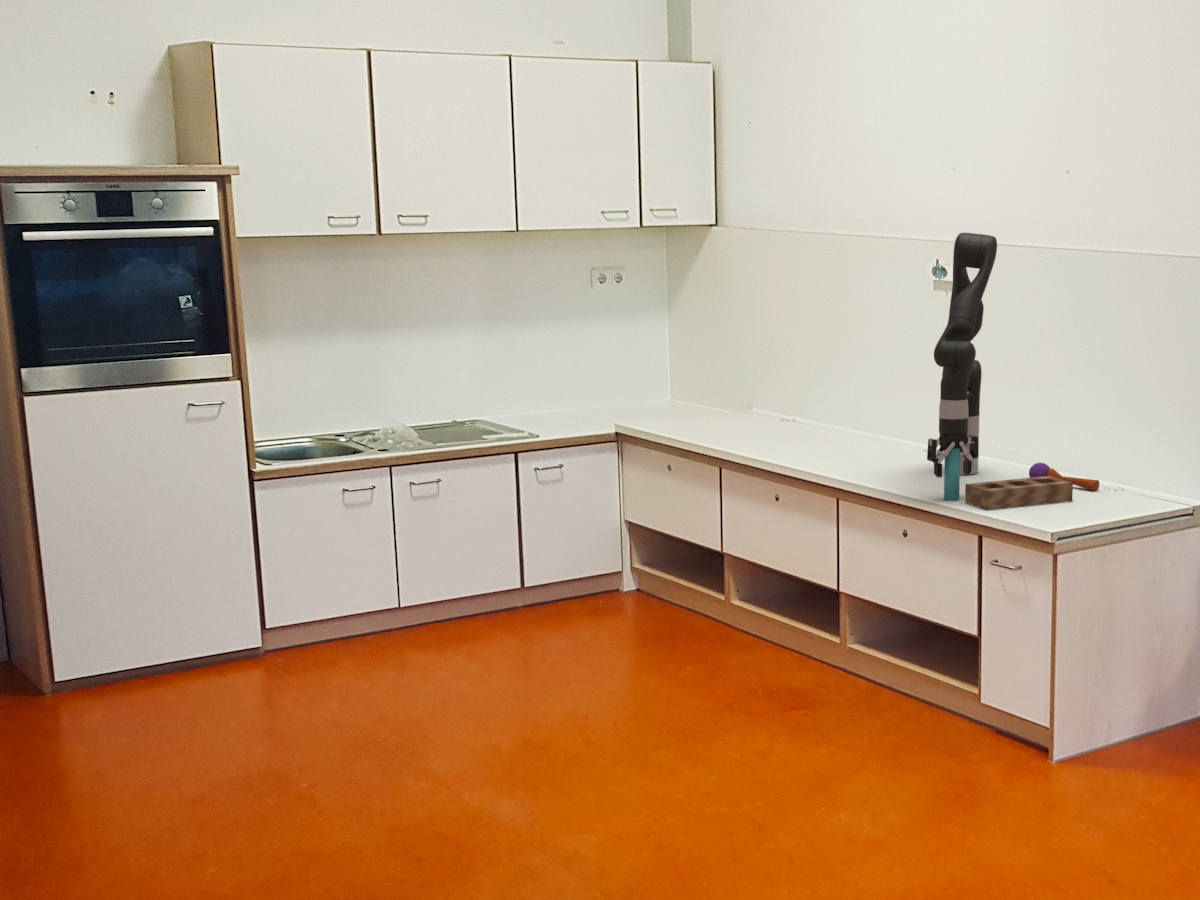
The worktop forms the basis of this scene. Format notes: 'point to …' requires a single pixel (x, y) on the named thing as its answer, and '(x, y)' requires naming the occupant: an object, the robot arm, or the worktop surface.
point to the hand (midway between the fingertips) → (952, 475)
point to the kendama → (1045, 470)
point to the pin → (952, 475)
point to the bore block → (1018, 492)
